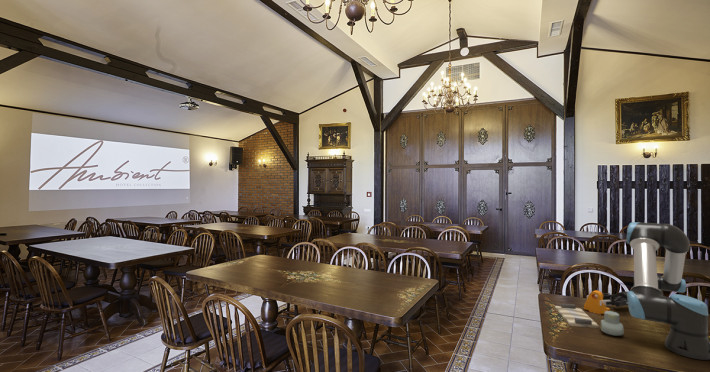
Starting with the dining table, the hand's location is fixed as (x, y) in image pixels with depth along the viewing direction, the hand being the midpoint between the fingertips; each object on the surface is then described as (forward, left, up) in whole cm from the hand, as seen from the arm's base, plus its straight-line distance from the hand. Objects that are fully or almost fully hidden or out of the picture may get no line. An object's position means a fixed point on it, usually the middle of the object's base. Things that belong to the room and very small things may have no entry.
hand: (593, 300), depth 195 cm
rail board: (-12, +13, -7) cm, 19 cm away
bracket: (+1, -2, -7) cm, 7 cm away
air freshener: (-30, +3, -7) cm, 31 cm away
